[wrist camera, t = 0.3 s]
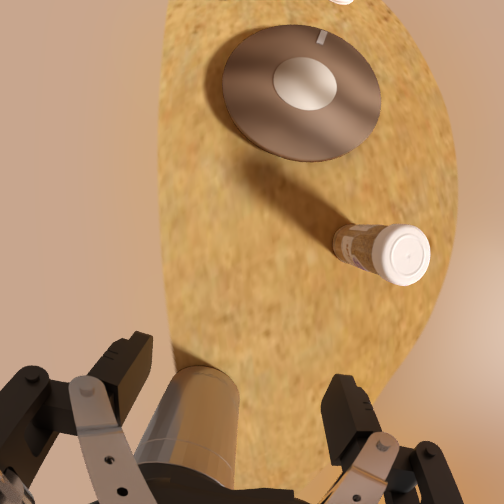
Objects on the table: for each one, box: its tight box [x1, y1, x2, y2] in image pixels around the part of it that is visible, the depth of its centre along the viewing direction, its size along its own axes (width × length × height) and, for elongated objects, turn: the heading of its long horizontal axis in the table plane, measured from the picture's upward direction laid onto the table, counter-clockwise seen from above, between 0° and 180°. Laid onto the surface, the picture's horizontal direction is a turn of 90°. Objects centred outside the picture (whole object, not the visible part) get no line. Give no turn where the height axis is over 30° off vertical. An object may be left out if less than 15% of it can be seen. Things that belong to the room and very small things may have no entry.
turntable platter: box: [222, 25, 381, 162], centre depth 28 cm, size 18×18×2 cm
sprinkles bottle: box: [333, 224, 430, 286], centre depth 26 cm, size 5×5×14 cm
